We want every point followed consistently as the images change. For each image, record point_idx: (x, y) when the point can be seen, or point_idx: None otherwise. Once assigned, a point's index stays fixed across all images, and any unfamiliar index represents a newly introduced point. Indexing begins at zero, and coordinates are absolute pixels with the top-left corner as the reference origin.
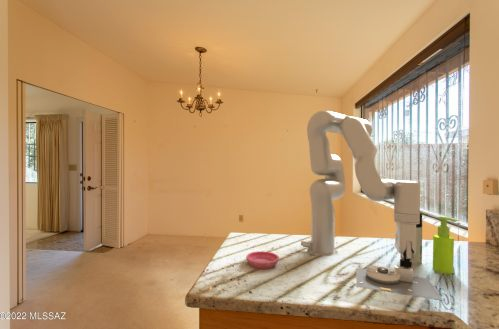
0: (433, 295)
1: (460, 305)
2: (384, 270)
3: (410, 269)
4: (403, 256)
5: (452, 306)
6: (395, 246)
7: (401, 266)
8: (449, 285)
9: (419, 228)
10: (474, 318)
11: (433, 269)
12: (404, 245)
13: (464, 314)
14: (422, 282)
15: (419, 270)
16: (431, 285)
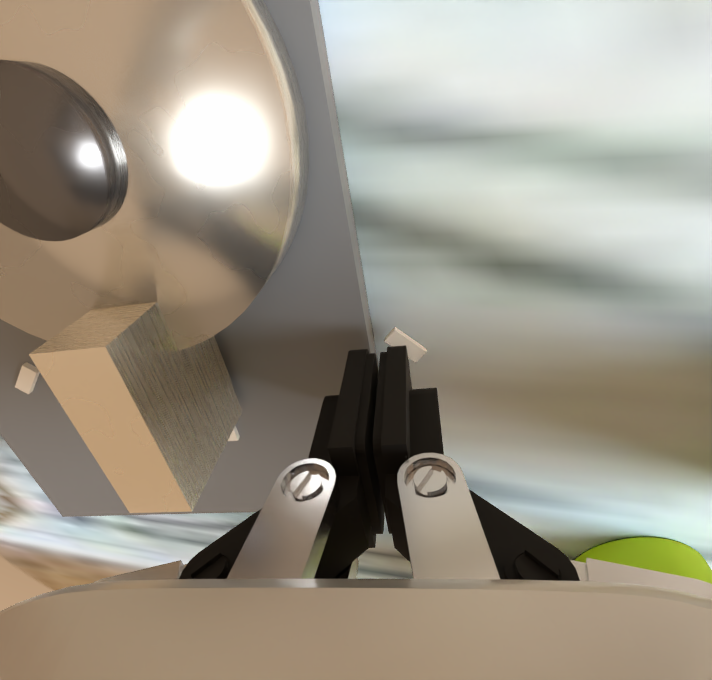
0: (90, 489)
1: (145, 551)
2: None
3: (125, 492)
4: (251, 549)
5: (101, 524)
6: (564, 601)
7: (342, 394)
8: (407, 566)
9: None
10: (51, 563)
11: (644, 565)
12: None
13: (56, 544)
14: (278, 466)
15: (669, 465)
16: (259, 504)
